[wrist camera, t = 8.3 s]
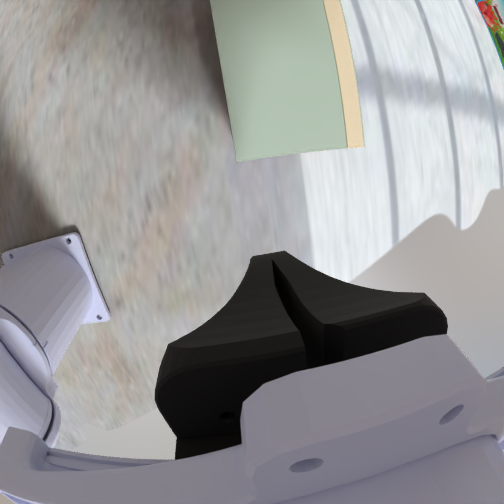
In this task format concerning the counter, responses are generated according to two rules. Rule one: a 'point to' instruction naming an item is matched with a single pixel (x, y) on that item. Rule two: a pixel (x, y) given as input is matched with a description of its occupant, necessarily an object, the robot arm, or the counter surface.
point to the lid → (287, 76)
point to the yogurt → (494, 22)
